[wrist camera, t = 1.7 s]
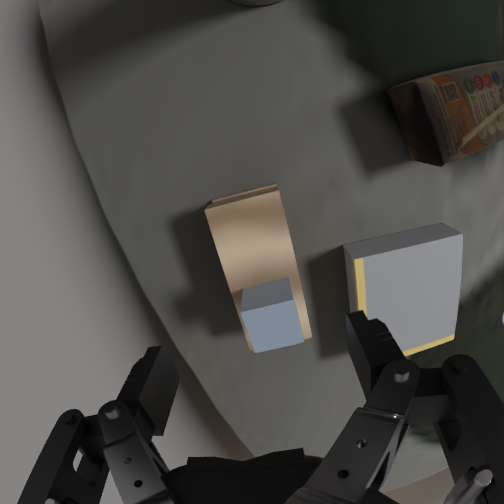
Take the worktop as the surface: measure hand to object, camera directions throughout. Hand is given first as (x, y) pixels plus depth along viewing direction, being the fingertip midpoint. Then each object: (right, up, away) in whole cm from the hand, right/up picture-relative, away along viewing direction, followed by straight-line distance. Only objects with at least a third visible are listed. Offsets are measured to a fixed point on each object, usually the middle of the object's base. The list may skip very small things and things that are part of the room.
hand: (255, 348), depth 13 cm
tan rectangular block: (+1, +3, +18) cm, 18 cm away
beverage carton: (+22, +20, +11) cm, 32 cm away
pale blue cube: (+2, 0, +14) cm, 14 cm away
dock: (+16, 0, +18) cm, 24 cm away
